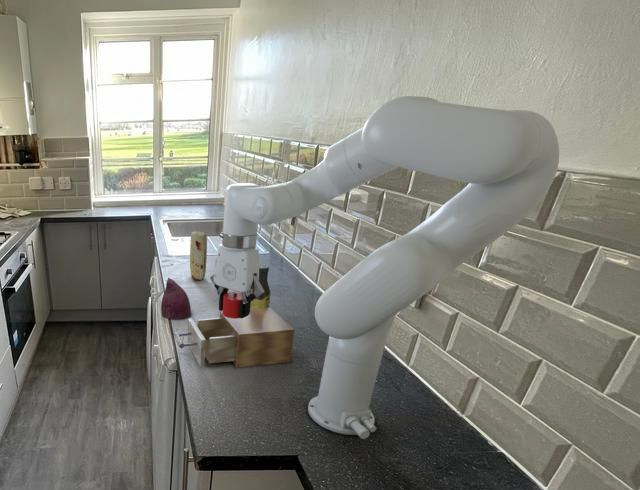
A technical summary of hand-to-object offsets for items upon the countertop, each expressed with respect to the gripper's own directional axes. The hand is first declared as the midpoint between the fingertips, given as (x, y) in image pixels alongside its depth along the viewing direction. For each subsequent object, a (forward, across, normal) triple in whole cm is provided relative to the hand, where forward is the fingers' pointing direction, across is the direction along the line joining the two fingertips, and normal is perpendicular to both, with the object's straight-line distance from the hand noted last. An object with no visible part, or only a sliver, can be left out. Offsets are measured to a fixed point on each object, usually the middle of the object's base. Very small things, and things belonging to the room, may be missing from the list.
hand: (233, 312), depth 99 cm
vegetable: (+16, -34, +14) cm, 40 cm away
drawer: (+15, -7, 0) cm, 16 cm away
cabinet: (+16, -1, +11) cm, 19 cm away
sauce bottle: (+16, -9, +24) cm, 30 cm away
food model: (+16, -54, +46) cm, 73 cm away
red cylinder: (0, 0, 0) cm, 0 cm away
